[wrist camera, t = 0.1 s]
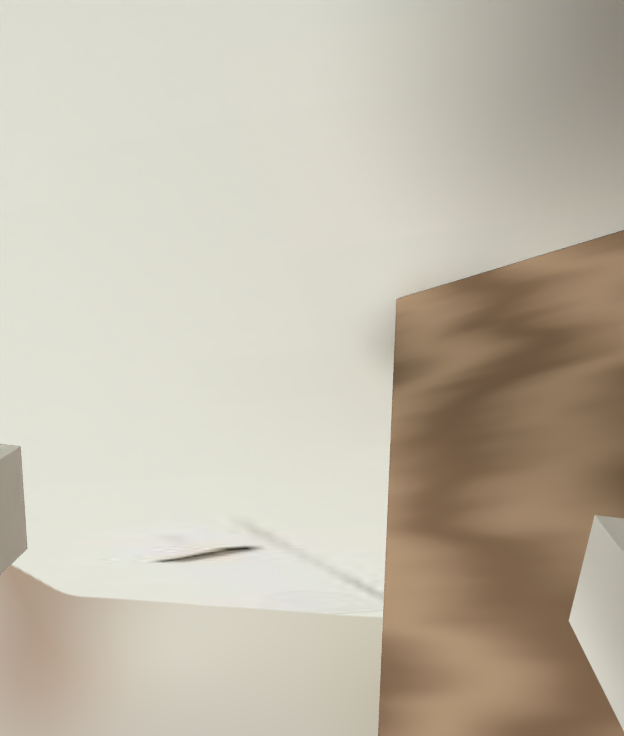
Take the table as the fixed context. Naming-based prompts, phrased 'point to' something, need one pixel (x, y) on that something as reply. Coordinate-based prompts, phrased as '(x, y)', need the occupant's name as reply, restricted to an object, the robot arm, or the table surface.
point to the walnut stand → (501, 495)
